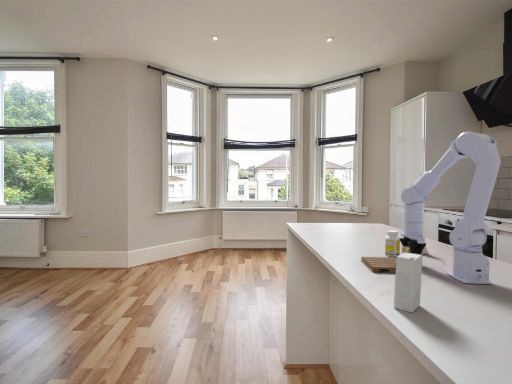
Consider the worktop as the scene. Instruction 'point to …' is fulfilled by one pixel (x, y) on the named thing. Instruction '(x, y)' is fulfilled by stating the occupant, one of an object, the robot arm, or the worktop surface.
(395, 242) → the supplement bottle
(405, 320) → the worktop surface
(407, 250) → the cardboard box
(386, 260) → the pallet
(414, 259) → the skincare box
